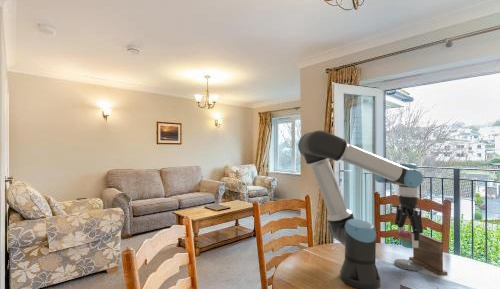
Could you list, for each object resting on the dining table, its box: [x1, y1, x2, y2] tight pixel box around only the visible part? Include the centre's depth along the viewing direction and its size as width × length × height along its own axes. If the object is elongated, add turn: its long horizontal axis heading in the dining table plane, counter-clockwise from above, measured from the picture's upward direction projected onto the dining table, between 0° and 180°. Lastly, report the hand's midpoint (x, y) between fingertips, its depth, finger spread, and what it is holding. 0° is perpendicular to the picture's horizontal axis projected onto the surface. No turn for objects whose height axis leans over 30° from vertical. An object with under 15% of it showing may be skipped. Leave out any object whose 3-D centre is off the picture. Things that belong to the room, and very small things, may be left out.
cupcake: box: [397, 221, 413, 249], centre depth 123 cm, size 9×8×12 cm
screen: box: [408, 233, 448, 276], centre depth 122 cm, size 5×17×14 cm, turn 6°
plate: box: [394, 258, 423, 272], centre depth 122 cm, size 11×11×1 cm
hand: (408, 243), depth 123 cm, fingers closed on cupcake, 8 cm apart
